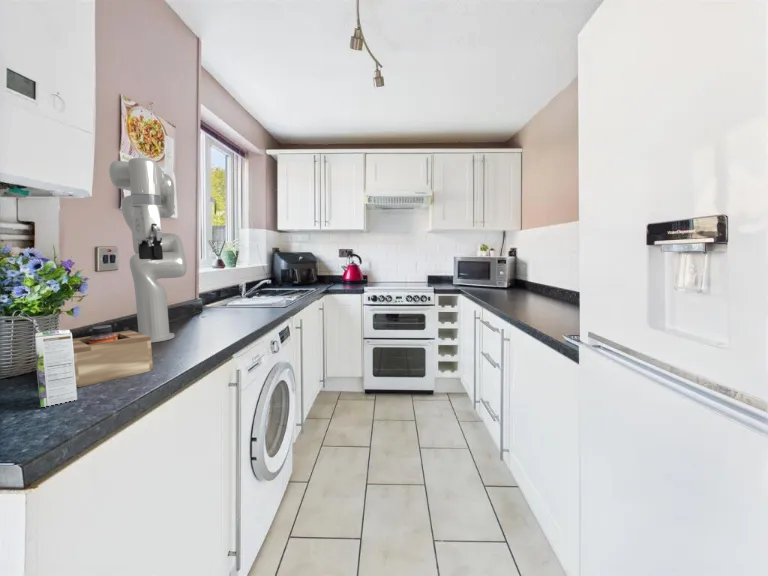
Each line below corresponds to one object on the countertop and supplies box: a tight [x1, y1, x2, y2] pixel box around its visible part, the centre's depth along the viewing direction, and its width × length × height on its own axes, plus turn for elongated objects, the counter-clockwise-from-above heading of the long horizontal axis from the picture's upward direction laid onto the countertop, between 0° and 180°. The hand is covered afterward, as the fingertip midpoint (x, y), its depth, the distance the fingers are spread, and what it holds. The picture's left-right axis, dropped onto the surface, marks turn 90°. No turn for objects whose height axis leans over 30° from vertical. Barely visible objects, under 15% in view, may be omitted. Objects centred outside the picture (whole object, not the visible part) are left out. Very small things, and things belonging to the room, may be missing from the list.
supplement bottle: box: [89, 324, 118, 344], centre depth 96 cm, size 6×6×11 cm
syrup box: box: [34, 329, 78, 408], centre depth 77 cm, size 6×6×14 cm
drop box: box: [72, 329, 154, 389], centre depth 95 cm, size 15×16×9 cm
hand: (150, 259), depth 113 cm, fingers open, 9 cm apart
